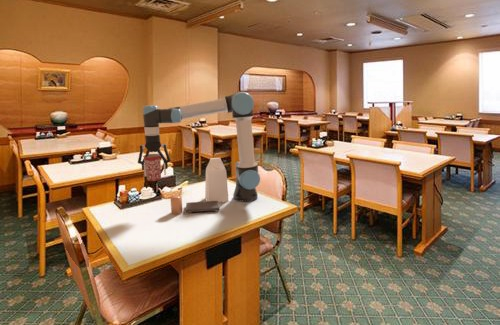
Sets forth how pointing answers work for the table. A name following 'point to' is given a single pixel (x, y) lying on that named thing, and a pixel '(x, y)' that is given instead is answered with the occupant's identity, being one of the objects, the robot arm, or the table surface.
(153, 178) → the mug
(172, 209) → the brown short cylinder
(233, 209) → the table surface
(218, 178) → the milk
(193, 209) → the board
